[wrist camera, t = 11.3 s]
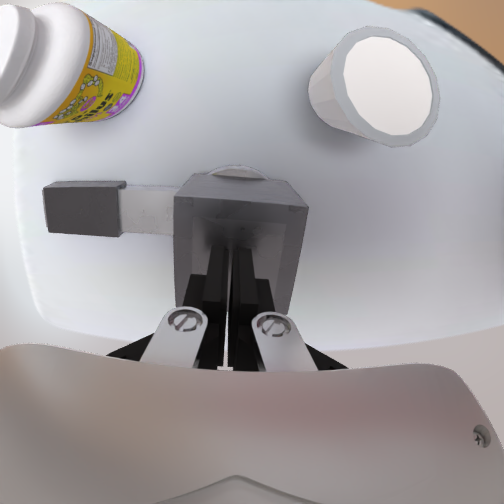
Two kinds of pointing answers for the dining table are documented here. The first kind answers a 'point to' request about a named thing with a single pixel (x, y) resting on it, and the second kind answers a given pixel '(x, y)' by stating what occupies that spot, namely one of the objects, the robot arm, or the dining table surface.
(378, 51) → the white cup
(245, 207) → the grey cube
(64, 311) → the dining table surface
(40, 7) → the supplement bottle
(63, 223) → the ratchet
